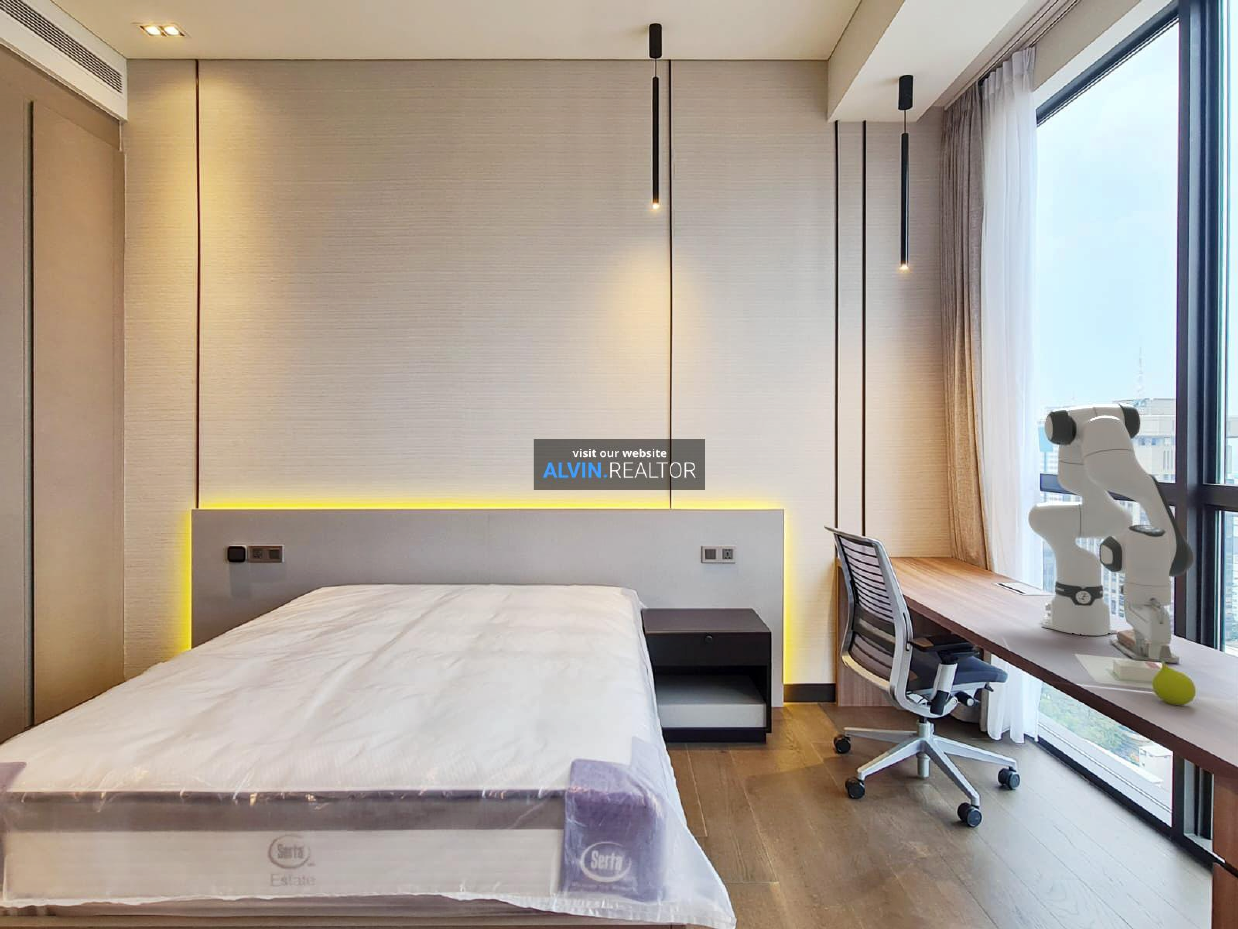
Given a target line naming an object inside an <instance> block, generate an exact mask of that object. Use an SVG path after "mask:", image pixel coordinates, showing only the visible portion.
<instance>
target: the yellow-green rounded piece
mask: <svg viewBox="0 0 1238 929" xmlns="http://www.w3.org/2000/svg"><path fill="white" fill-rule="evenodd" d="M1159 656H1160V655H1159ZM1160 663H1162V669H1161V671H1160V672H1159V673H1158V674H1157V675H1156V676H1155V677H1154V679H1153V683H1152V685H1153V689H1152V690H1153V691H1154V693H1155V695H1156V697H1158V698H1159V699H1160V700H1161V701H1163V702H1165V703H1167V704H1170V705H1174V706H1183V705H1186V704H1187V705H1188V704H1189V703H1190V702H1191V701H1193V699H1194V698H1195V697H1196V693H1197V692H1196V687H1195V686H1196V685H1195V684H1194V682H1193V681H1192V679H1191V678H1190V677H1189V676H1188V675H1187V674H1185V673H1183V672H1181V671H1178V670H1175V669H1173V668H1171V667H1169V665H1168V664H1166V662H1164V661H1161V662H1160Z"/></svg>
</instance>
